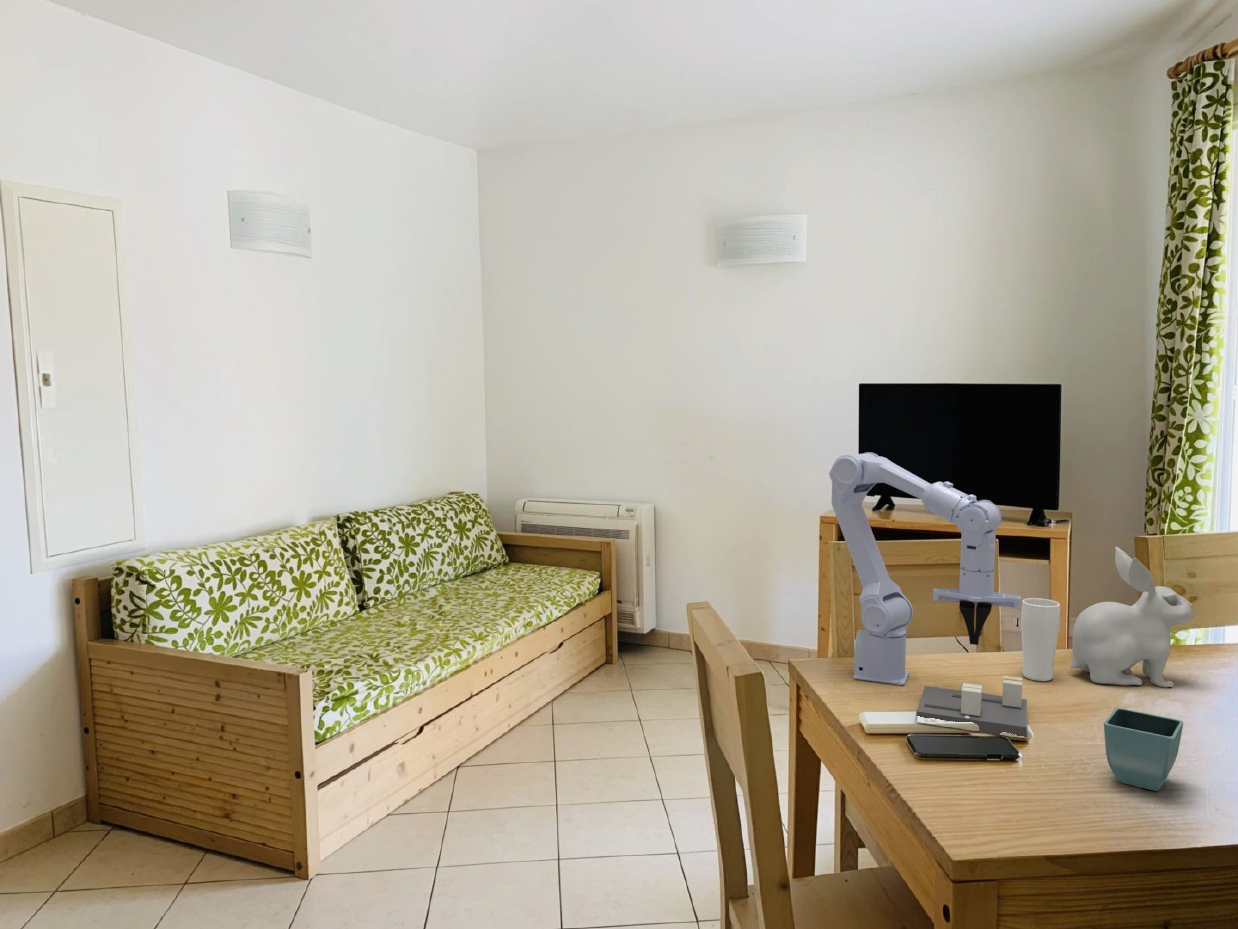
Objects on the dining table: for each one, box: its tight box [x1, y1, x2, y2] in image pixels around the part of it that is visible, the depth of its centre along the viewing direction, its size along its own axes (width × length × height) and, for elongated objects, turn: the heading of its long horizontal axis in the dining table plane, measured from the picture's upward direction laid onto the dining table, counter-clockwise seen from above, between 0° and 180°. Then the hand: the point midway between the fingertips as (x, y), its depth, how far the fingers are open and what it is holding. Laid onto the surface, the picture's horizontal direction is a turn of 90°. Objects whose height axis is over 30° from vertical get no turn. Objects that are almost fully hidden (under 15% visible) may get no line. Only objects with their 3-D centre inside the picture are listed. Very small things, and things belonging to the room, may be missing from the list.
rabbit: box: [1070, 546, 1194, 688], centre depth 173 cm, size 12×21×25 cm, turn 77°
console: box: [915, 685, 1028, 738], centre depth 155 cm, size 17×14×2 cm
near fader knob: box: [961, 682, 983, 716], centre depth 152 cm, size 3×4×4 cm
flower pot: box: [1103, 707, 1184, 792], centre depth 130 cm, size 9×9×9 cm
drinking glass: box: [1020, 597, 1061, 682], centre depth 175 cm, size 7×7×15 cm
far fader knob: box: [1001, 675, 1023, 708], centre depth 156 cm, size 3×4×4 cm
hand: (974, 643), depth 163 cm, fingers closed
